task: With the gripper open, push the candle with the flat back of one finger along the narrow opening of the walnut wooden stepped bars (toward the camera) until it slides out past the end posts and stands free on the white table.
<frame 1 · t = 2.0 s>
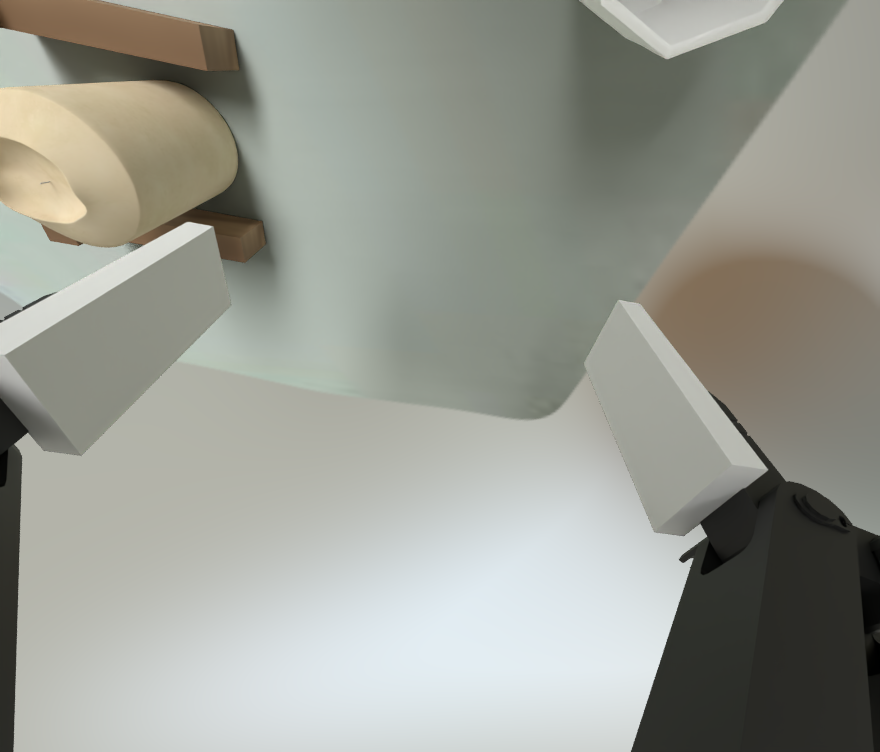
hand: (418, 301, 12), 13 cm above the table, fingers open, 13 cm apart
wooden stepped bars: (161, 136, 20), on the table
candle: (191, 141, 21), on the table
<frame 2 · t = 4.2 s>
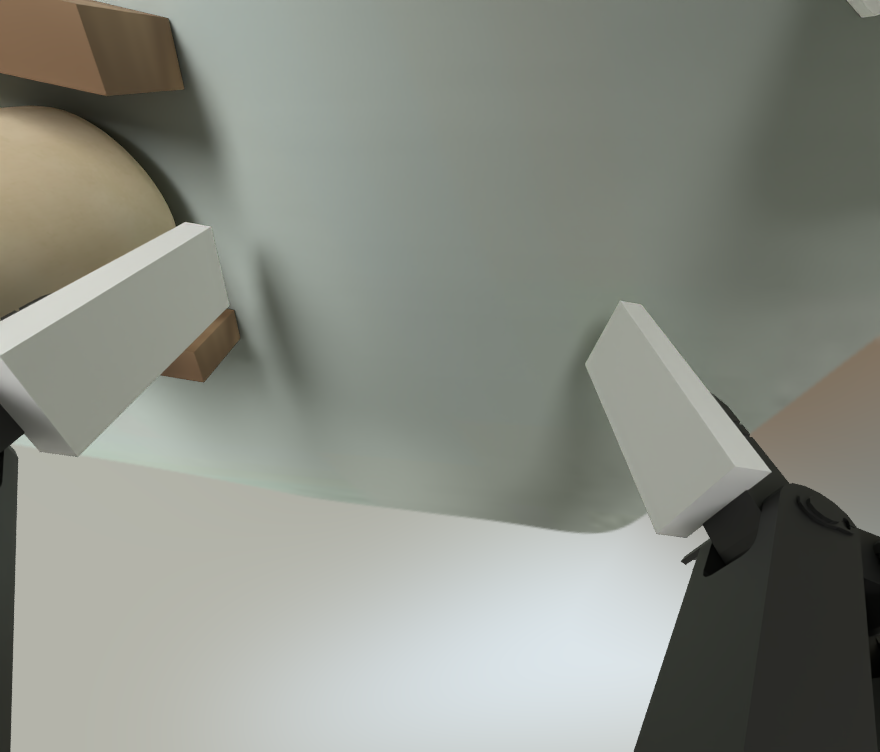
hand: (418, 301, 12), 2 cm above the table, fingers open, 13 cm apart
wooden stepped bars: (66, 191, 13), on the table
candle: (108, 201, 13), on the table, touching gripper, hand
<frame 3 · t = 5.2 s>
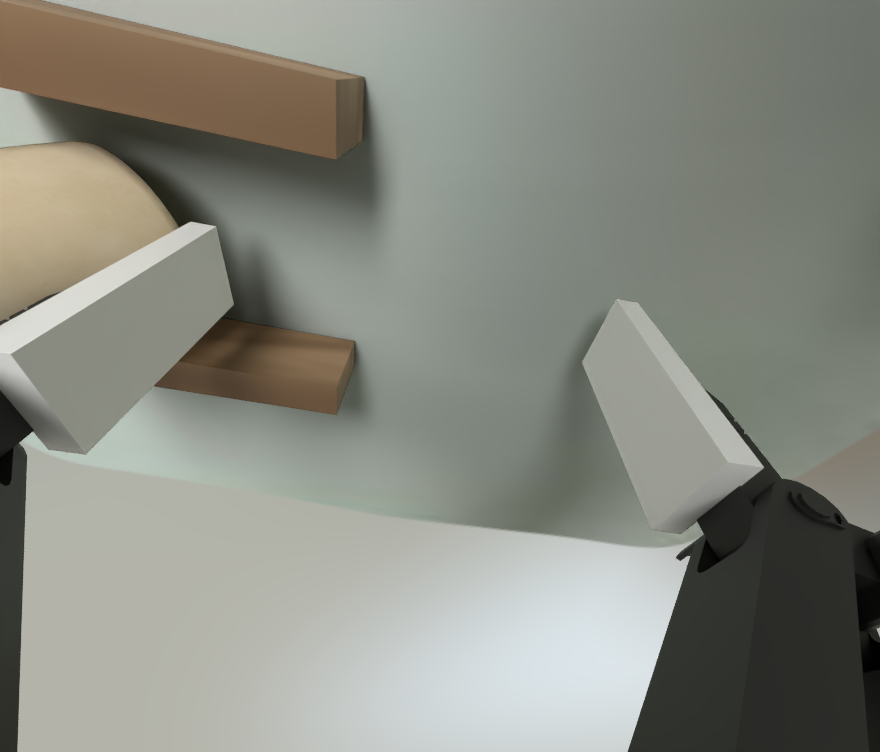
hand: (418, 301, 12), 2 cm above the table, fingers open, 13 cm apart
wooden stepped bars: (217, 231, 13), on the table
candle: (143, 234, 12), point 1 cm above the table, touching gripper, hand
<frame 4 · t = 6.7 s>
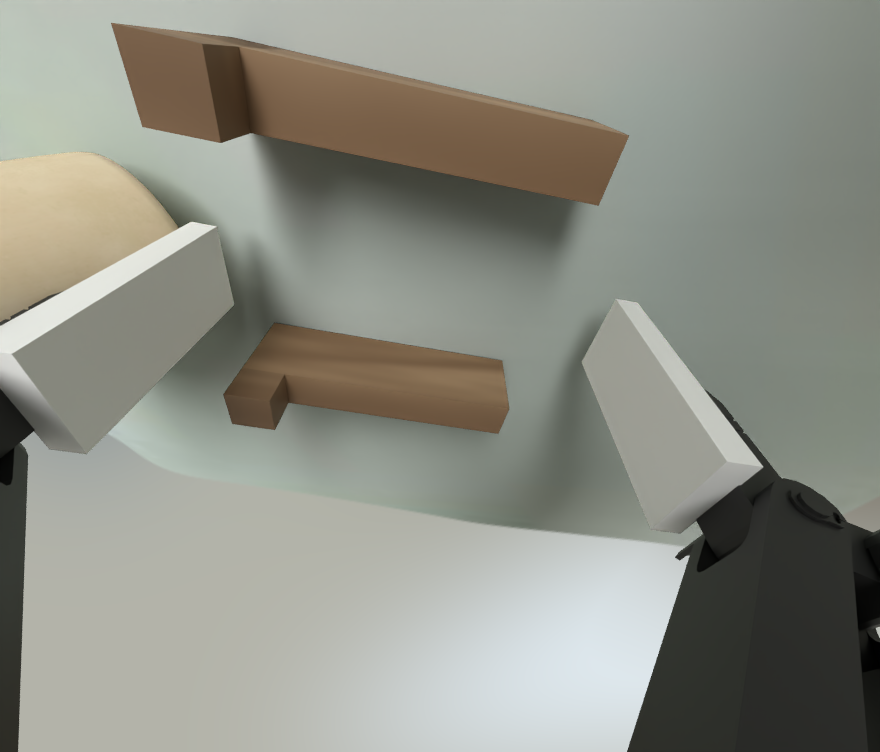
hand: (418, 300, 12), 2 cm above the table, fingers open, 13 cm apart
wooden stepped bars: (400, 260, 13), on the table
candle: (147, 242, 12), point 1 cm above the table, touching gripper, hand
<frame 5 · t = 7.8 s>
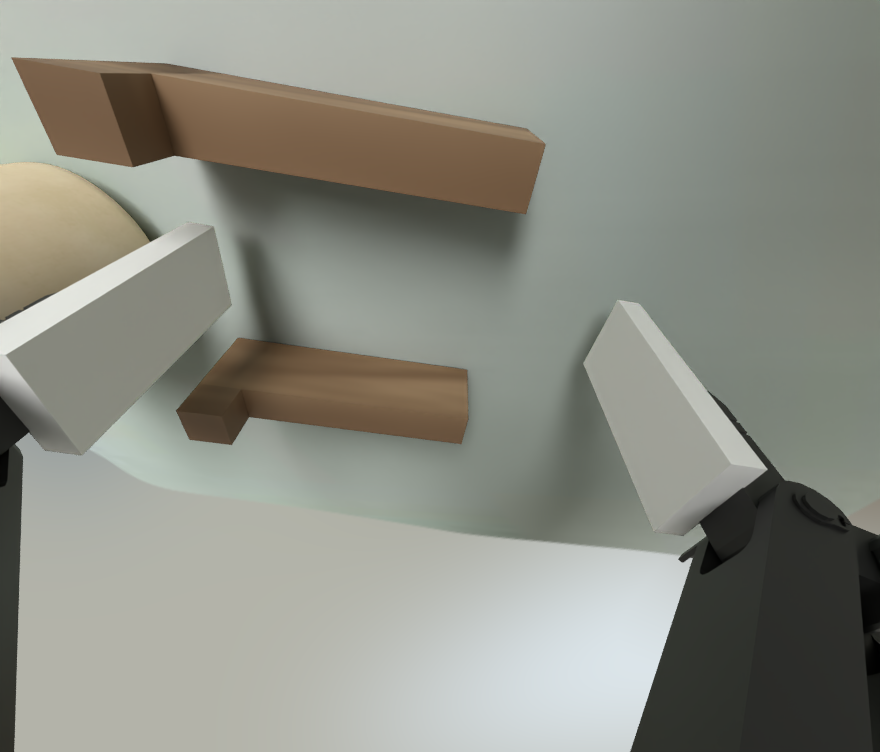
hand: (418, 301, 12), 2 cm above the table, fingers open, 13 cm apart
wooden stepped bars: (353, 273, 13), on the table
candle: (95, 246, 13), on the table, touching gripper
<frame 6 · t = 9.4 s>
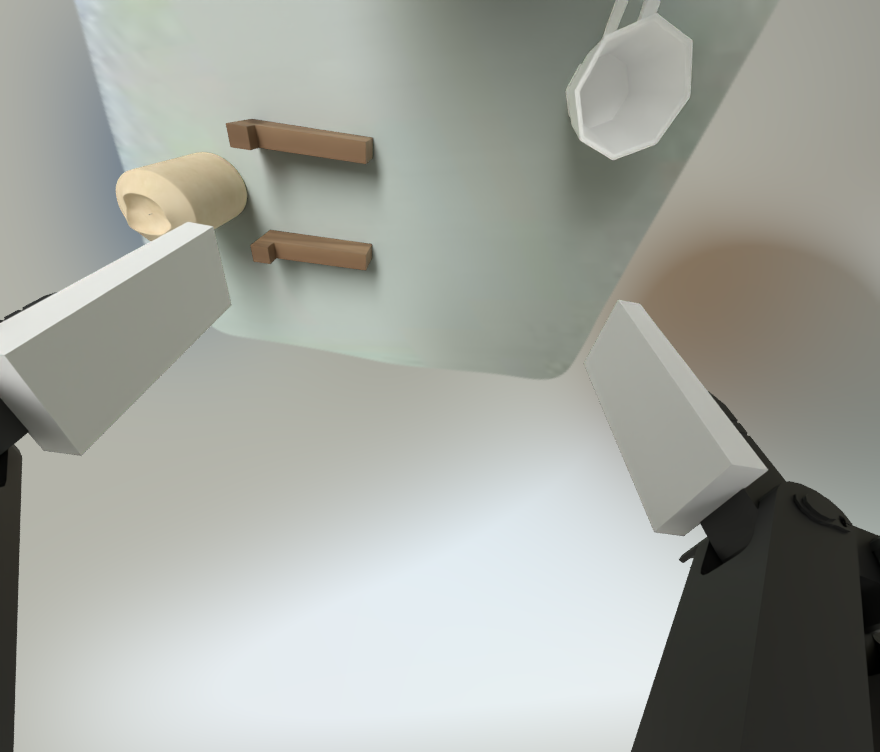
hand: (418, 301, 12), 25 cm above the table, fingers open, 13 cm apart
wooden stepped bars: (318, 196, 34), on the table
candle: (218, 185, 33), on the table
cup: (598, 66, 27), on the table
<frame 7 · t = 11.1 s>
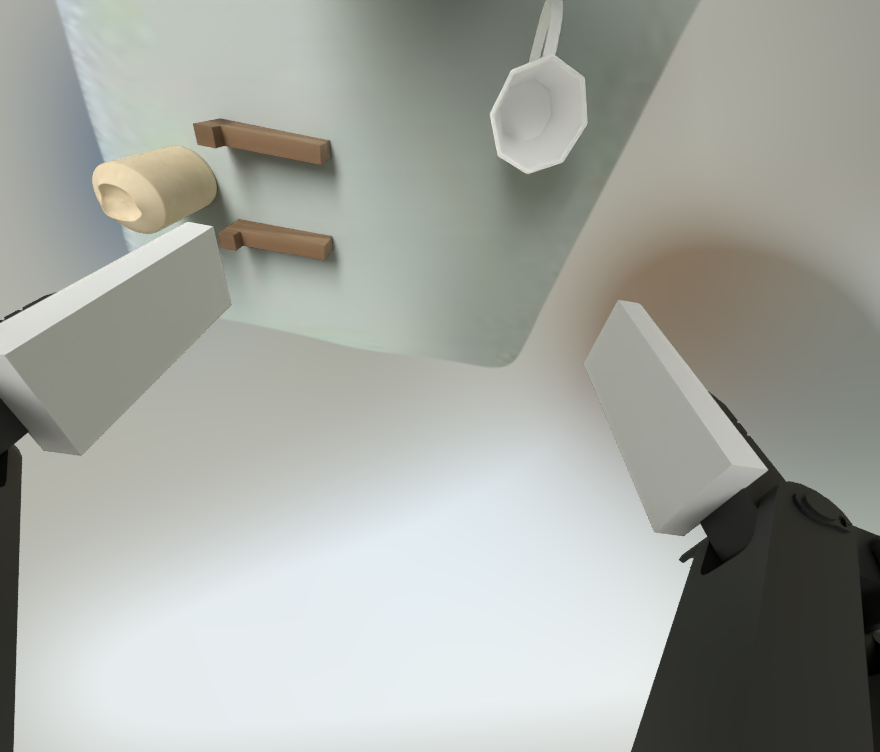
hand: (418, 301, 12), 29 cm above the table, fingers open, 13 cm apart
wooden stepped bars: (281, 190, 37), on the table
candle: (190, 176, 37), on the table
cup: (527, 88, 31), on the table
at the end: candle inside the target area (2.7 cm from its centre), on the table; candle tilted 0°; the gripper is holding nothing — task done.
